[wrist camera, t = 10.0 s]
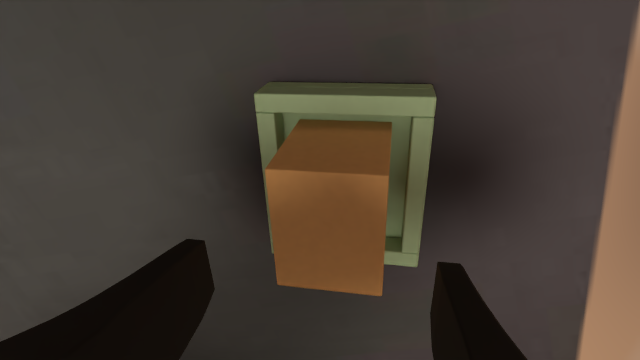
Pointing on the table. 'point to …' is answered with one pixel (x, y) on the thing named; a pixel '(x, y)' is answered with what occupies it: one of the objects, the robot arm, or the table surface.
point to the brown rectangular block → (331, 205)
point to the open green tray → (363, 105)
